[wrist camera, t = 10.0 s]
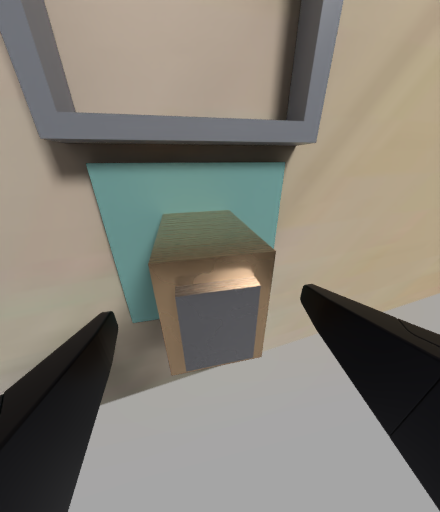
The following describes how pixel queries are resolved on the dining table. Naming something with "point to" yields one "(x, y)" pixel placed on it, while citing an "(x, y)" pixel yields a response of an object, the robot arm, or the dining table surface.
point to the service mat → (176, 210)
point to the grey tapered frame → (166, 127)
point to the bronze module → (210, 289)
